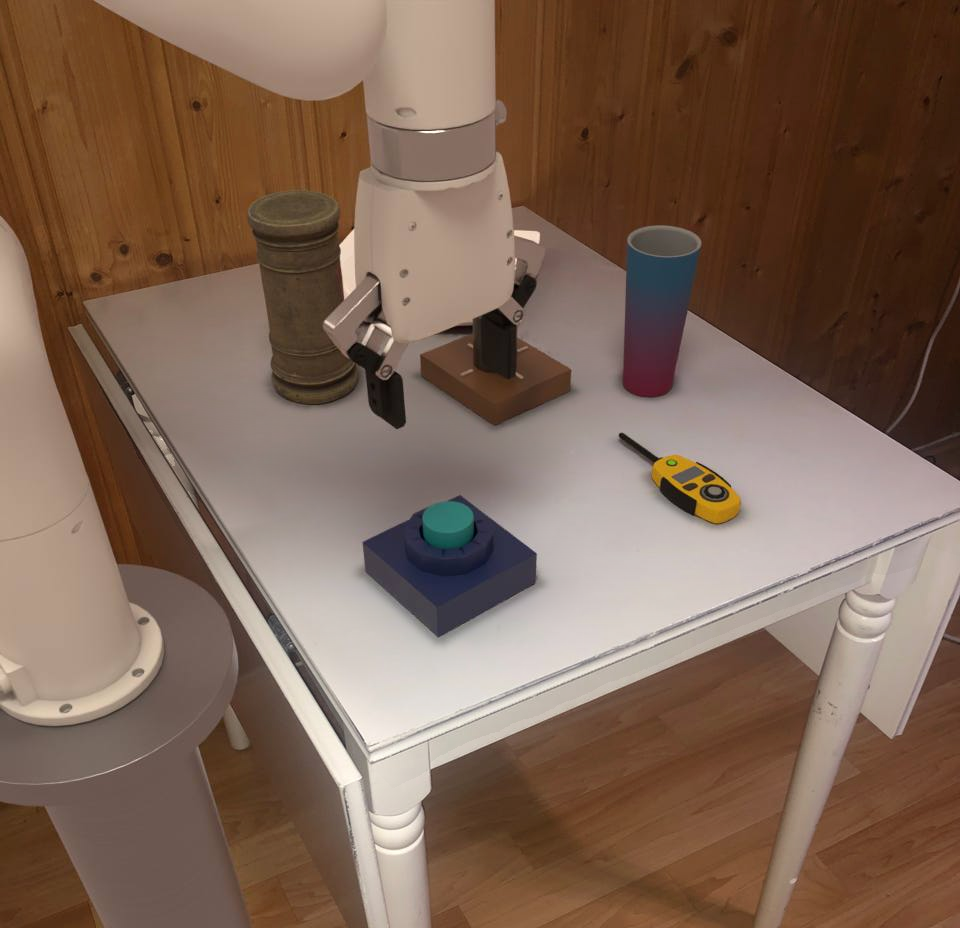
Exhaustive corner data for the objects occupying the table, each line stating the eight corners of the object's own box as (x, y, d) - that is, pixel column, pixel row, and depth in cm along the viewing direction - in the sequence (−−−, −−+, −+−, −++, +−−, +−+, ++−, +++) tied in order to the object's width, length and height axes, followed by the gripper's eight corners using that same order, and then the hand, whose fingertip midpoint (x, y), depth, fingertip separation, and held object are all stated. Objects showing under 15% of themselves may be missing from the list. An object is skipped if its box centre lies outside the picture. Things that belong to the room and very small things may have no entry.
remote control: (712, 513, 89) (600, 431, 98) (709, 531, 91) (598, 448, 99) (753, 493, 91) (640, 415, 100) (749, 511, 92) (637, 432, 101)
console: (494, 425, 102) (494, 402, 100) (420, 376, 109) (419, 352, 107) (570, 391, 107) (571, 367, 105) (495, 345, 113) (495, 322, 111)
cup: (667, 363, 110) (686, 222, 100) (690, 397, 106) (712, 252, 95) (605, 371, 109) (617, 229, 99) (625, 405, 105) (640, 260, 94)
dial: (491, 377, 104) (491, 323, 100) (464, 359, 106) (463, 306, 102) (525, 362, 106) (527, 309, 102) (497, 345, 108) (498, 292, 104)
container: (323, 414, 104) (301, 235, 91) (253, 389, 107) (222, 213, 95) (377, 373, 109) (362, 199, 97) (308, 351, 113) (286, 180, 100)
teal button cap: (443, 556, 81) (443, 539, 80) (413, 531, 83) (412, 514, 82) (484, 536, 83) (483, 518, 82) (452, 512, 85) (452, 494, 84)
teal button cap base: (438, 637, 81) (436, 589, 78) (365, 571, 87) (360, 524, 83) (535, 583, 86) (537, 535, 82) (460, 524, 91) (459, 477, 88)
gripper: (505, 92, 68) (506, 334, 80) (272, 160, 60) (312, 416, 72) (584, 122, 64) (572, 373, 76) (345, 201, 56) (374, 465, 68)
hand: (445, 394), depth 74 cm, fingers open, 9 cm apart
